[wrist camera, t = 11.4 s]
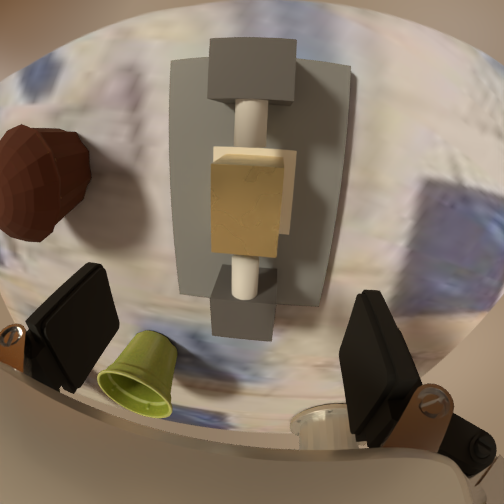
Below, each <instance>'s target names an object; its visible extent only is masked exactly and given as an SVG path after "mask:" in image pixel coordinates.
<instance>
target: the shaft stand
mask: <svg viewBox="0 0 504 504" xmlns="http://www.w3.org/2000/svg"><path fill="white" fill-rule="evenodd" d="M296 45H297V40H295V39H282V38H260V37H234V38H212V39H210V49H209V57H202V58H190V59H180V60H172V61H171V68H170V91H169V164H170V189H171V207H172V221H173V234H174V245H175V256H176V266H177V275H178V283H179V291H180V294H183V295H191V296H199V297H208V298H210V310H211V325H212V336H220V337H229V338H238V339H248V340H259V341H271V342H272V335H273V327H274V319H275V310H276V304H284V305H299V306H315V307H319V303H320V299H321V294H322V290H323V285H324V280H325V276H326V271H327V266H328V261H329V255H330V250H331V245H332V239H333V233H334V227H335V221H336V215H337V209H338V202H339V195H340V188H341V180H342V173H343V164H344V156H345V146H346V136H347V125H348V112H349V97H350V77H351V66H346V65H341V64H335V63H329V62H322V61H314V60H306V59H296ZM225 154H243V155H261V156H275V157H283V161H284V179H283V191H282V203H281V214H280V225H279V236H278V246H277V256H276V258H272V257H260V256H249V255H237V254H225V253H214V252H211V163H213V162H214V161H216V160H217V159H219V158H220V157H222V156H223V155H225Z"/></svg>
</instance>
